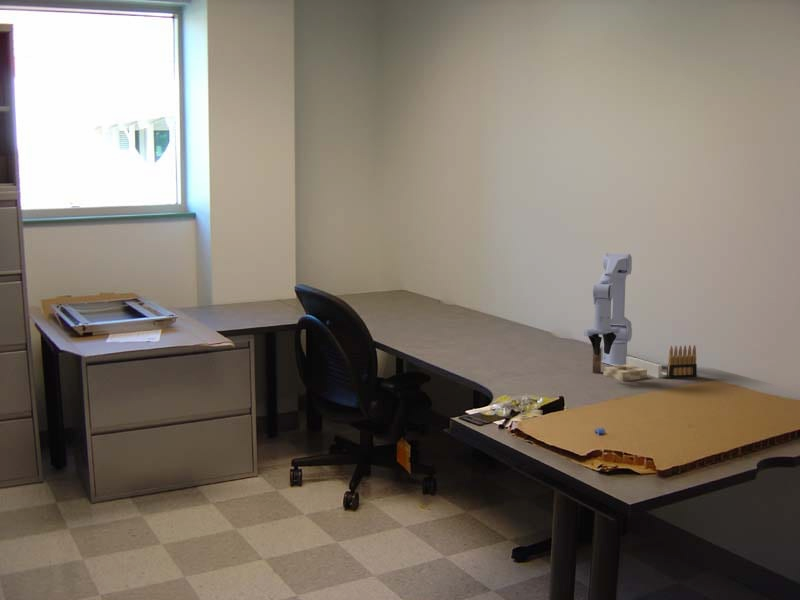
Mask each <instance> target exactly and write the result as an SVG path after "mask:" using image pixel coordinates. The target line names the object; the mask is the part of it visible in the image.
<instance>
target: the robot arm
mask: <svg viewBox="0 0 800 600" xmlns="http://www.w3.org/2000/svg"><path fill="white" fill-rule="evenodd" d="M632 261H633V259H632V255H631V254H630V253H608V252H607V253H605V254H604V255H603V261H602V262H603V263H602V265H603V268H604V270H605V271H604V272H603V273H602V274H601V275H600V277H599V280H598V282H597V284H595V285H593V290H592V295H593V296H592V297H593V305H594V324H593V325H594V326H593V328H590V329H585V330H584V331H583V332H584V333H583V336H585V337H588V339H589V341H590V343H591V346H592V351H593V350H594V354H595V355H599V354H600V349H601V343H602V341H603V346H602V360H601V364H602V363H603V364H606V365H608V366H616V365H624V364H626V357H628V343H629V342H630V341H631V340H632V337H633V336H632V335H633V329H632V322H631V321H630V319H628V318H627V317H626V316H625V307H626V279H627V276H629V275H631V274H632V266H633V262H632ZM600 335H601V336H600Z"/></svg>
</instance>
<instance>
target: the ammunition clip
mask: <svg viewBox="0 0 800 600" xmlns="http://www.w3.org/2000/svg"><path fill="white" fill-rule="evenodd" d="M697 367H698V366H697V347H696V344H694V345H693V346H692V347H691V345H688V349H687V346H686V344H684V346H683V348H682V345H680V346H679V348H678V347H677V345H675V347H674V349H673V346H672V345H670V348H669V355H668V361H667V369H666V373H667V377H666V378H668V379H671V380H672V379H692V378H693V379H696V378H698V377H697V372H698V370H697V369H698V368H697Z"/></svg>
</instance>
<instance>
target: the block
mask: <svg viewBox="0 0 800 600" xmlns="http://www.w3.org/2000/svg"><path fill="white" fill-rule="evenodd" d="M603 376H606V377H609V378H611V379H615V380H618V381H621V382H628V381H632V380H633V381H635V380H641V379H647V378H648V375H647V370H646V369H642V368H639V367H636V366H632V365H629V364H624V365H616V366H612V365H607V366H603Z"/></svg>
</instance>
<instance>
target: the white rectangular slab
mask: <svg viewBox="0 0 800 600" xmlns="http://www.w3.org/2000/svg"><path fill="white" fill-rule="evenodd" d="M626 364H629V365H632V366H636V367H639V368H642V369H646V370H647V376H651V377H653V378H656V379H661V378H667V372H664V371H662V369H663V365H662V364H658V363H654V362H651V361H649V360H648V361H647V360H644V359H640V358H636V357H633V356H627V357H626Z"/></svg>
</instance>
